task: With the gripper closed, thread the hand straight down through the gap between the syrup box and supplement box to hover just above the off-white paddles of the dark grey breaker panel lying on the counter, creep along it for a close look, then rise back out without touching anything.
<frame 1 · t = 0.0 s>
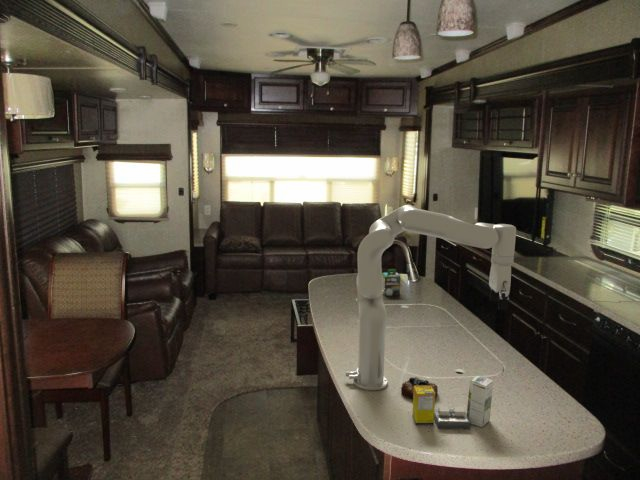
hand: (498, 305, 199), 31 cm above the worktop, fingers open, 9 cm apart
pastry: (419, 395, 197), on the worktop
breaker paddles: (451, 411, 178), point 4 cm above the worktop, hinge at 18.0°
syrup box: (477, 422, 179), on the worktop
chalk box: (390, 293, 318), on the worktop
breaker panel: (451, 422, 178), on the worktop
supplement box: (422, 420, 180), on the worktop
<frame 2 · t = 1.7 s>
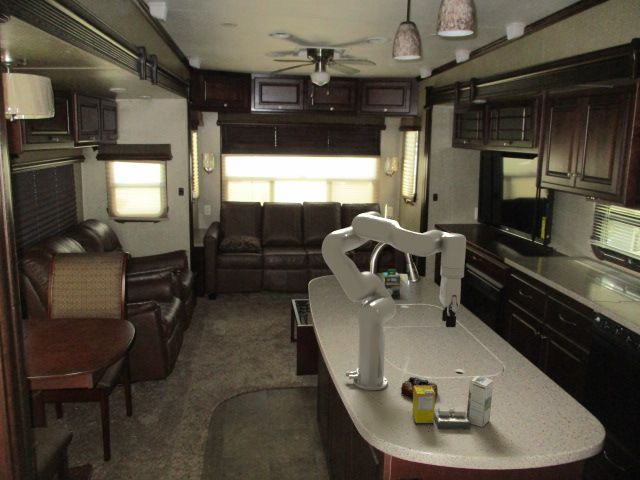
hand: (448, 323, 184), 29 cm above the worktop, fingers open, 4 cm apart
nothing on the worktop moved.
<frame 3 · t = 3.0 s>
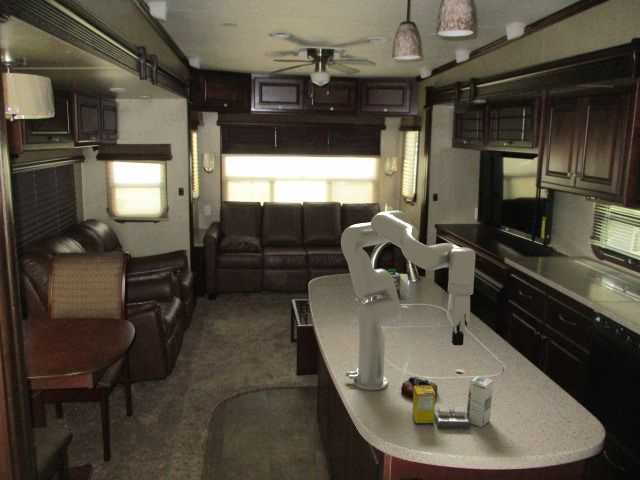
hand: (457, 344, 173), 27 cm above the worktop, fingers closed
nothing on the worktop moved.
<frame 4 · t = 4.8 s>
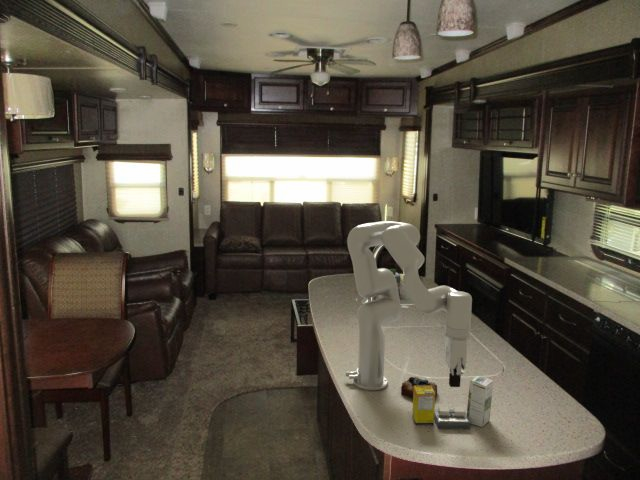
hand: (454, 385, 176), 13 cm above the worktop, fingers closed
nothing on the worktop moved.
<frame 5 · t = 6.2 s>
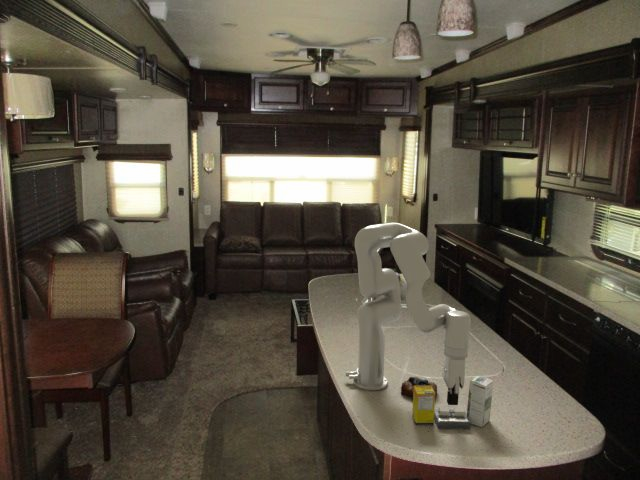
hand: (452, 403, 177), 7 cm above the worktop, fingers closed
nothing on the worktop moved.
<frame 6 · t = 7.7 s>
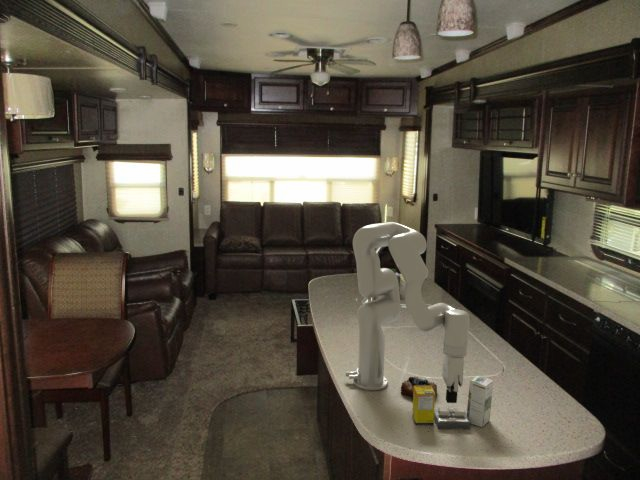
hand: (451, 401, 179), 7 cm above the worktop, fingers closed
nothing on the worktop moved.
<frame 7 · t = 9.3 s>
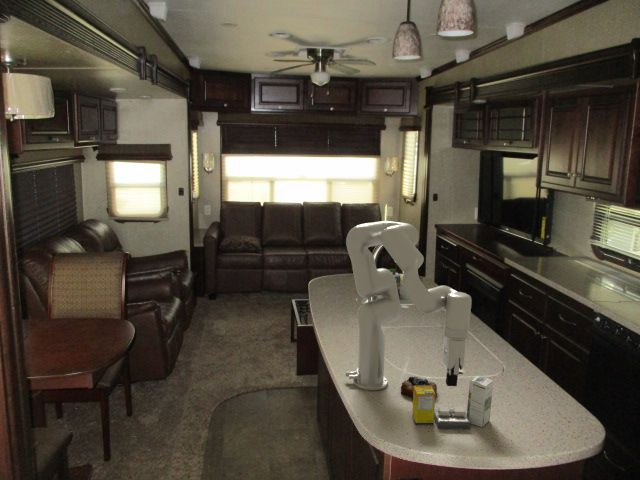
hand: (451, 384, 177), 12 cm above the worktop, fingers closed
nothing on the worktop moved.
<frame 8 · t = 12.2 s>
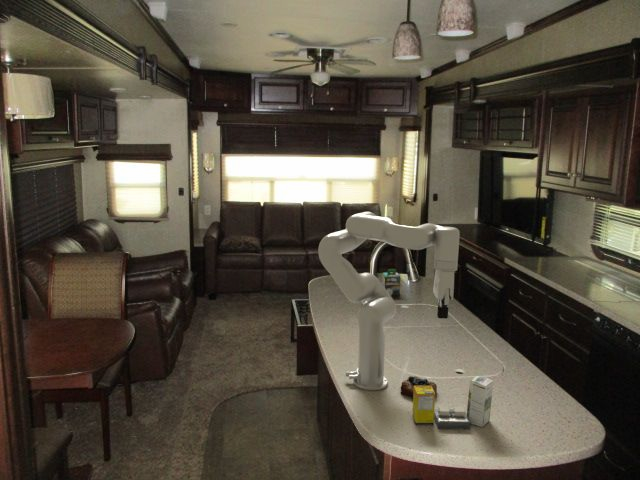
hand: (442, 317, 185), 31 cm above the worktop, fingers closed
nothing on the worktop moved.
at the end: breaker paddles at +18° (first picture: +18°); syrup box moved 0.2 cm from its start; supplement box moved 0.2 cm from its start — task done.
